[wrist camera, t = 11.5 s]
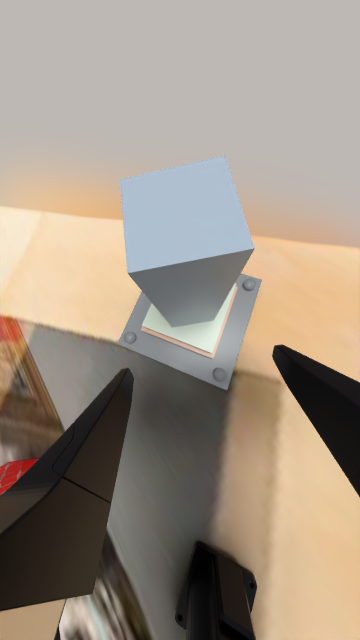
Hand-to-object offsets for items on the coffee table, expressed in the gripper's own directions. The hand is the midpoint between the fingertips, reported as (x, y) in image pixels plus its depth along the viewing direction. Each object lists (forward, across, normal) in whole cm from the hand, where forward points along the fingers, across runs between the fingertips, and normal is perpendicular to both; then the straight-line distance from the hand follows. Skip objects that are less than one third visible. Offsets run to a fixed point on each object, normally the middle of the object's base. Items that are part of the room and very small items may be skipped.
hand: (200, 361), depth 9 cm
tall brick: (+10, 0, +1) cm, 10 cm away
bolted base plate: (+13, 0, +4) cm, 14 cm away
